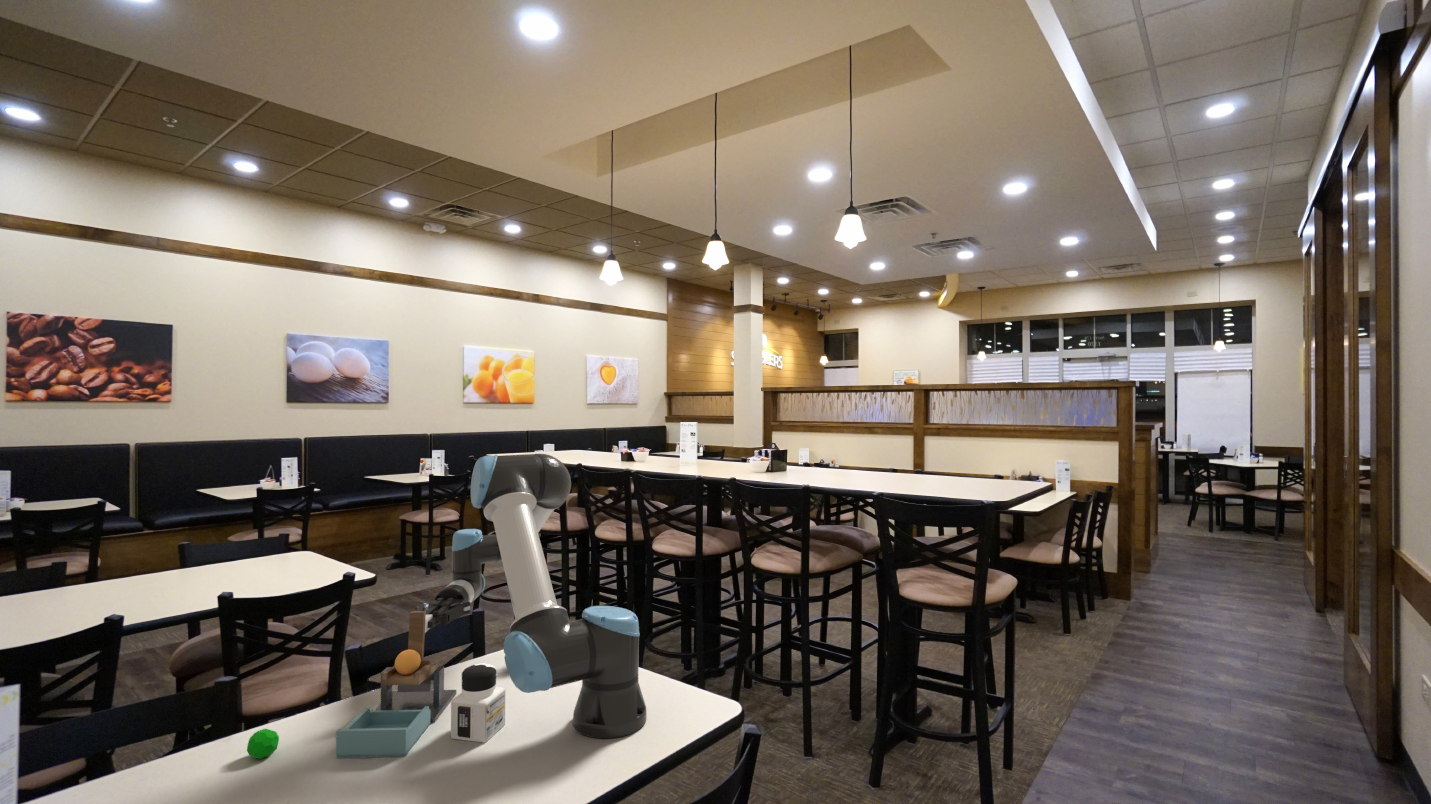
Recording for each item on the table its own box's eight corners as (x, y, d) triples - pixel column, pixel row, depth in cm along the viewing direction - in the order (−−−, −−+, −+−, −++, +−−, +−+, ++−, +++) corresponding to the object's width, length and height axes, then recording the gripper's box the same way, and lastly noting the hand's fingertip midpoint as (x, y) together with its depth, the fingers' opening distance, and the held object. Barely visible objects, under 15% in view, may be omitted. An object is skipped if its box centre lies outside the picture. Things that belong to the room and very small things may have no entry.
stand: (393, 695, 149) (393, 657, 149) (456, 694, 150) (456, 656, 150) (365, 724, 136) (365, 682, 136) (434, 722, 136) (435, 681, 136)
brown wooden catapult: (400, 686, 147) (404, 608, 149) (441, 685, 147) (445, 608, 149) (377, 704, 135) (381, 619, 137) (421, 703, 136) (426, 618, 138)
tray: (367, 725, 135) (367, 700, 135) (430, 723, 136) (430, 699, 136) (335, 758, 123) (336, 731, 123) (405, 756, 123) (405, 729, 123)
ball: (421, 675, 139) (422, 651, 139) (394, 679, 136) (395, 654, 137) (419, 668, 143) (420, 645, 143) (393, 672, 141) (394, 648, 141)
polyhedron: (282, 748, 126) (283, 723, 126) (273, 761, 121) (273, 735, 121) (252, 751, 125) (253, 726, 125) (242, 765, 120) (242, 739, 120)
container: (485, 743, 128) (486, 676, 128) (449, 739, 130) (450, 673, 130) (505, 724, 136) (506, 661, 136) (472, 720, 137) (472, 658, 137)
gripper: (480, 613, 169) (448, 646, 146) (428, 613, 169) (387, 647, 145) (480, 583, 169) (448, 612, 146) (428, 584, 169) (388, 613, 145)
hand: (418, 630), depth 146 cm, fingers closed
